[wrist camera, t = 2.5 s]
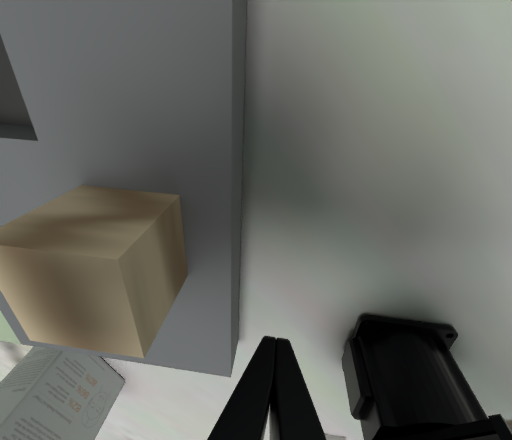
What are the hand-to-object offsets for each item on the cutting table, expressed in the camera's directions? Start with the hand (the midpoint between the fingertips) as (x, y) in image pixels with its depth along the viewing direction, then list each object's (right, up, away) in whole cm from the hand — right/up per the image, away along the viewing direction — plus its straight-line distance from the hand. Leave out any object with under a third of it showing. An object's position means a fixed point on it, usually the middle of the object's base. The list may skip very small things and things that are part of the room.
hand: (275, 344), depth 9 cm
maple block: (-7, +3, +5) cm, 9 cm away
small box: (-18, -10, +18) cm, 28 cm away
